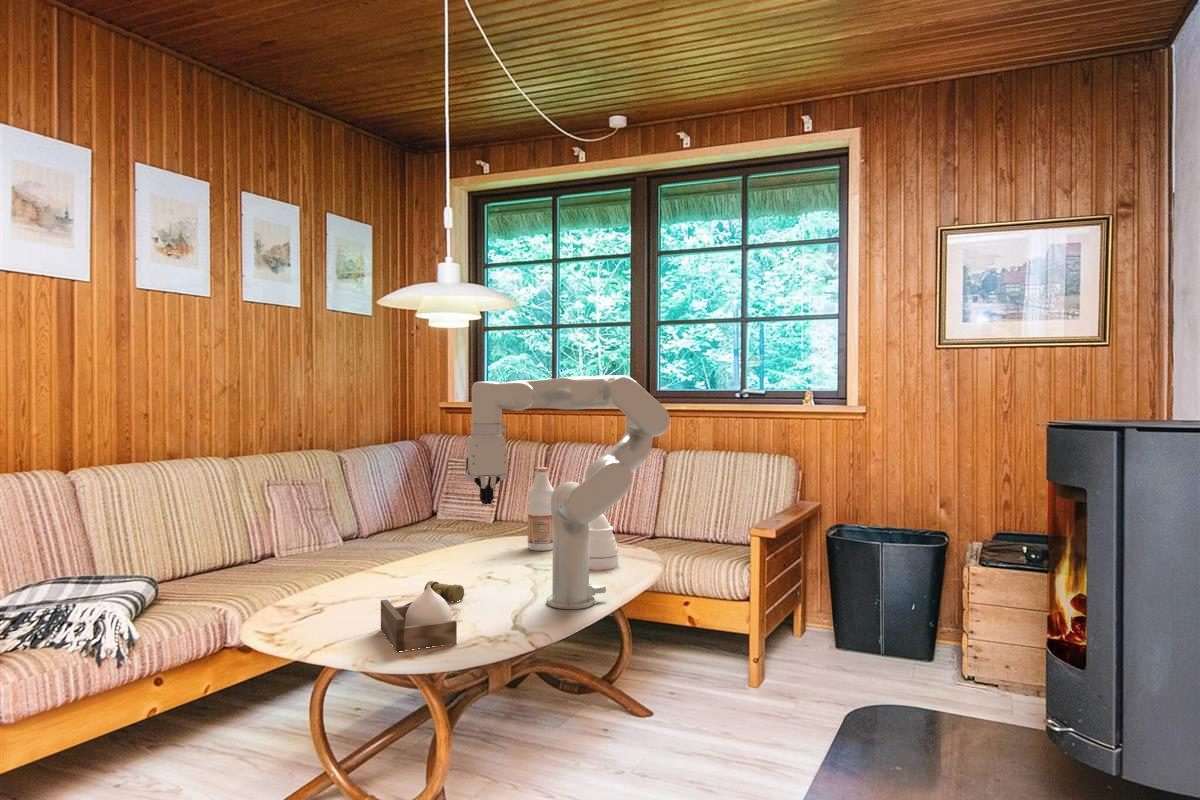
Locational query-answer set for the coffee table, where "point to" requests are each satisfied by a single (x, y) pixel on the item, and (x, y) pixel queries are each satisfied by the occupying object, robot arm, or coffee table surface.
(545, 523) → the fruit juice
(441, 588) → the gavel
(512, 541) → the coffee table surface
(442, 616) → the teardrop
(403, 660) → the coffee table surface
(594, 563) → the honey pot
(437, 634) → the box
